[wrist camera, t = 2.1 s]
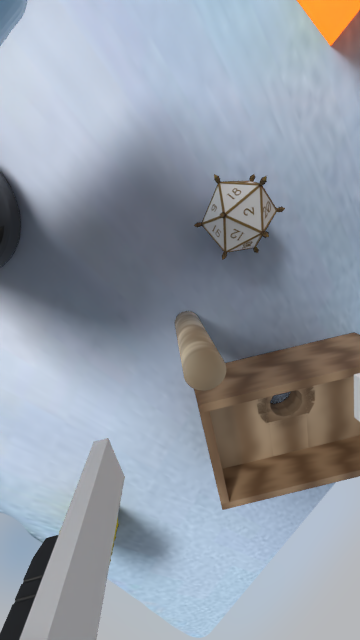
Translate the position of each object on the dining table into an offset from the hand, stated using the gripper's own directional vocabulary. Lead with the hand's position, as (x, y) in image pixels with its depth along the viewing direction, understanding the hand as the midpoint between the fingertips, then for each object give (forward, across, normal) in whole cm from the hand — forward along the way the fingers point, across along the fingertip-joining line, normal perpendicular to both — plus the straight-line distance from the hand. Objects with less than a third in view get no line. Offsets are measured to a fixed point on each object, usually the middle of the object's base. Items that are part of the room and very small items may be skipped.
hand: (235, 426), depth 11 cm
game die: (+21, +8, +11) cm, 25 cm away
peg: (+21, 0, 0) cm, 21 cm away
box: (+21, +11, -18) cm, 29 cm away
